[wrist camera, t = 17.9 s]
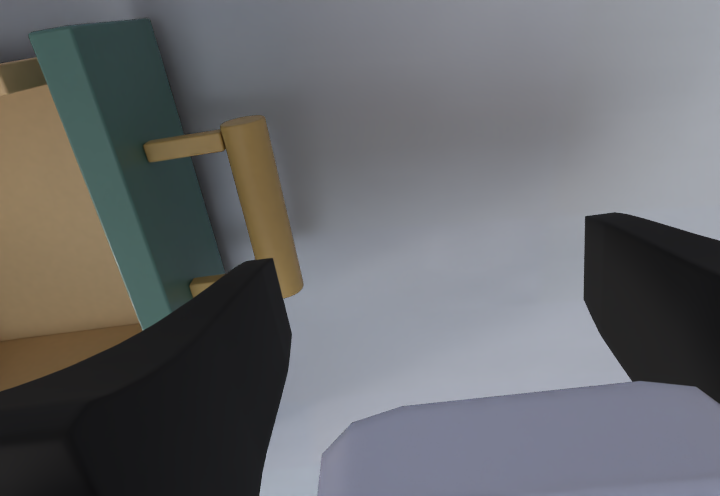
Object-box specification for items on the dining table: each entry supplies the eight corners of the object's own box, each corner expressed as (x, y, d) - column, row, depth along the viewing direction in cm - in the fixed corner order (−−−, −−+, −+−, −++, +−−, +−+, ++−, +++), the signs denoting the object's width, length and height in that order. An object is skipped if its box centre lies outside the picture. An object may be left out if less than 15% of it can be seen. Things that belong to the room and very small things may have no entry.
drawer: (260, -3, 18) (217, -2, 13) (328, 315, 24) (316, 400, 19) (-174, 75, 20) (-358, 102, 15) (-19, 358, 25) (-117, 448, 20)
